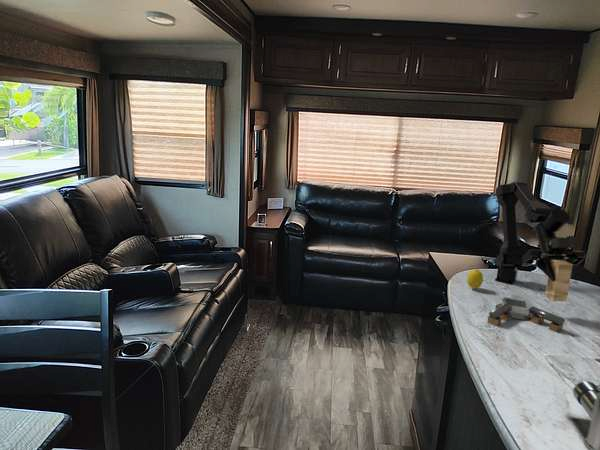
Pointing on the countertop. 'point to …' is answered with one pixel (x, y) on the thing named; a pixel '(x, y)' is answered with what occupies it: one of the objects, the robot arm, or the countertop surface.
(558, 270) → the block
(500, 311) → the shaft
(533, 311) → the shaft
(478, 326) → the countertop surface
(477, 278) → the lemon
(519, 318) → the grey round socket base
